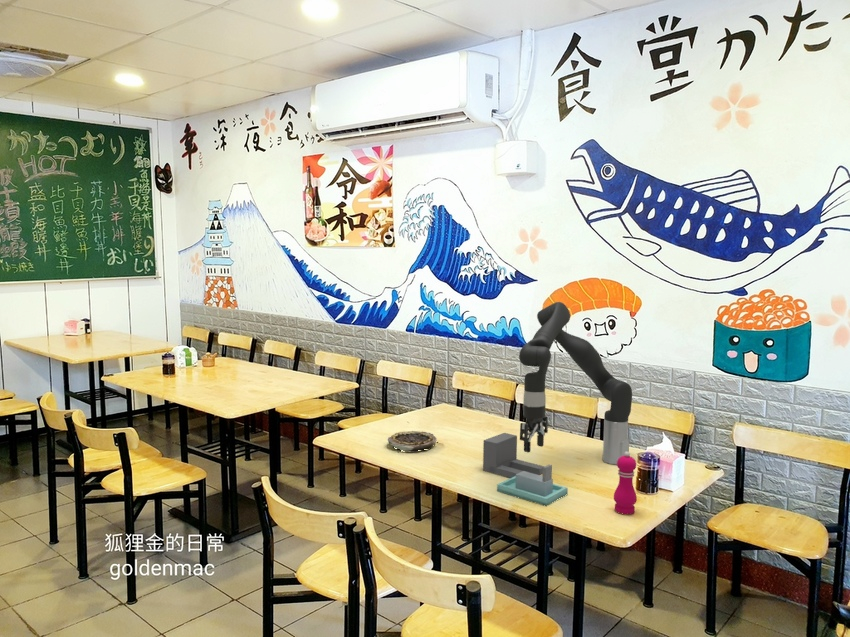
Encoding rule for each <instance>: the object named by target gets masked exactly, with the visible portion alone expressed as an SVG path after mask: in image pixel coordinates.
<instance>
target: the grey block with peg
mask: <svg viewBox="0 0 850 637" xmlns="http://www.w3.org/2000/svg"><path fill="white" fill-rule="evenodd" d="M543 466H544V467H543V474H542V475H537V474H533V473H529V472H526V471H522V472H520V473H518V474H516V486H515V488H517V489H520V490H523V491H527V492H530V493H533V494H537V495H540V496H543V497H546V496H548V495H549V494H551V493H553V484H554V478H552V477H553V465H552V464H547V465H543Z"/></svg>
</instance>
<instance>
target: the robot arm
mask: <svg viewBox="0 0 850 637" xmlns="http://www.w3.org/2000/svg"><path fill="white" fill-rule="evenodd" d="M570 312H571V311H570V310H569V308H568V307H567V305H566V304H565V303H563V302H560V301H555V302H554V303H552V304H550V305H548V306H546V307H544V308H543V309H541V310H539V311H538V312H537V315H536V317H537V321H538V323H539V324H540V326H541V327H540V328H538V329H537V331H536V332H535V334H534V335H533V338H532V339H531V340H528V342H526V343H525V344H524V345H523V346H522V347H521V348H520V350H519V355H518V358H519V361H520V364H522V365H523V366H526V367H534V368H535V367H536V368H538V370H537V371H533V372H528V373H526V374H525V375H524V382H523V383H524V384H523V385H524V391H523V402H522V403H523V413H522V414H523V417H524V418H525V419H526V420H525V422H521V423H520V427H519V441H523V451H524V453H531V445H532V444H531V441H532V438H533V437H534V436H535V434H537V435H536V436H537V437H536V445H537V446H538V447H542V448H543V447H544V444H545V442H544V439H545V438H544V437H545V436H546V434H548V431H549V429H548V428H549V427H548V424H549V423H548V421H549V420H548V416H546V399H547V398H546V377H547V373H548V369H549V365H550V362H551V359H552V354H551V348H552V345H553V343H554V342H557V343H558V345H560V346H561V348H563V349H564V351H565V352H566V353H567V354H568V355H569V356H570V358H571V359H572V360H573V361H574V363H575V364H576V365H577V366H578V367H579V368H580V369H581V370H582V371H583V372H584V373H585V375H586V376H587V377H588V378H589V379H591V381H592V382H593V383H594V384H595V387H596V388H597V390H598V391H599V392H600V394H601V395H602V396H603V398H604V399H606V400H607V401H608V402H610V407H609V408H610V409H608V410H606V411H605V412H604V417H603V418H604V420H603V443H602V444H603V445H602V461H603V462H604V463H606V464H610V465H616V466H617V461H618V459H619V458H620V457H621V456H624V453H625V452H629V453H630V438H628V433H629V432H628V429H629V417H630V415H631V411H632V402H633V390H632V387H631V385H630V384H629V383H628V382H626V381H623V380H619V379H618V378H616V377H614V376H613V375H612V374H611V373H610V372H609V371H608V370H607V369H606V367H605V366H604V362H603V360H602V357H601V354H600V353H599V352H598V350H597V349H596V348H595V347H594V346H593V345H592V344H591V342H590V341H588V340H587V339H585V338H582V337H579V336H576V335H574V334H570V333H569V332H566V330H563V328H564V327H565V326H566V325H567V324H568V323H569V322H570V320H571V313H570Z"/></svg>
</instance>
